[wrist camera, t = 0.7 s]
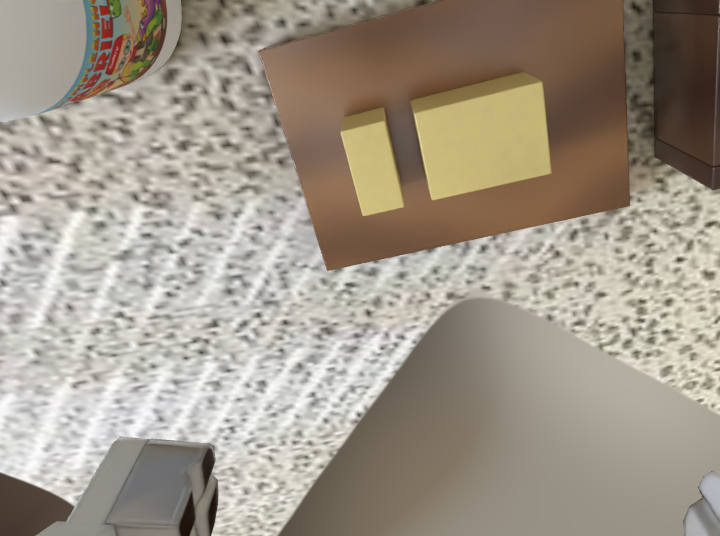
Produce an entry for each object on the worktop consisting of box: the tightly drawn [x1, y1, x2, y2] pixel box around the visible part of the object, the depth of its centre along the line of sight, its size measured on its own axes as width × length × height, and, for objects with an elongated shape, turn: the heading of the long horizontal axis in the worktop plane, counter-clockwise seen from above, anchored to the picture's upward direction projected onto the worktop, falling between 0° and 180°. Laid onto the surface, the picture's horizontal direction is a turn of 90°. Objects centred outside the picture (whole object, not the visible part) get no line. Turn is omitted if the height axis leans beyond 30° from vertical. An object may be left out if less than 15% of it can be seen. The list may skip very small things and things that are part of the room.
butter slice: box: [341, 107, 404, 216], centre depth 28 cm, size 4×2×4 cm, turn 14°
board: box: [259, 0, 630, 271], centre depth 30 cm, size 13×18×2 cm
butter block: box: [410, 72, 552, 200], centre depth 28 cm, size 4×6×4 cm
